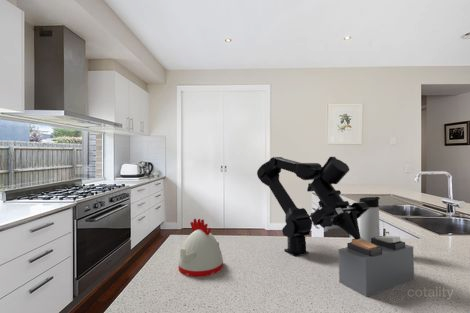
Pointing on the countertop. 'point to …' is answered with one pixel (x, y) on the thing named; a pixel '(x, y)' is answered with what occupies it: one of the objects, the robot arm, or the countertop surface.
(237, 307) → the countertop surface
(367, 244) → the orange rocker
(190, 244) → the kitchen timer
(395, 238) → the white rocker
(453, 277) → the countertop surface
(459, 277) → the countertop surface
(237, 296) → the countertop surface
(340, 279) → the switch box
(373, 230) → the travel mug
